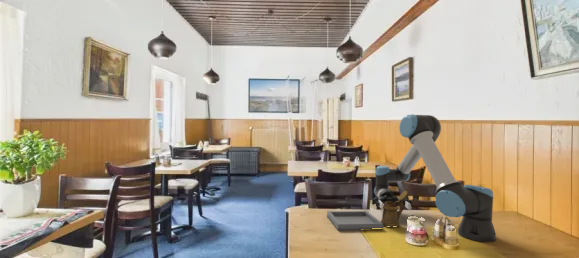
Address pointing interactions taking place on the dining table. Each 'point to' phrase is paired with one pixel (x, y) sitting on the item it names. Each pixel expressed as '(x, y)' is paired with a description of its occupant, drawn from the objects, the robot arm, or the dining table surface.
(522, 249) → the dining table surface
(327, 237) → the dining table surface
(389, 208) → the turkish coffee pot
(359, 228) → the grey tray
